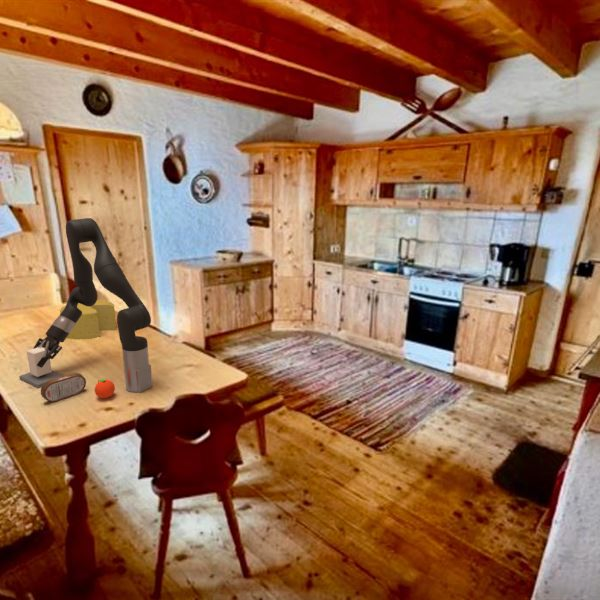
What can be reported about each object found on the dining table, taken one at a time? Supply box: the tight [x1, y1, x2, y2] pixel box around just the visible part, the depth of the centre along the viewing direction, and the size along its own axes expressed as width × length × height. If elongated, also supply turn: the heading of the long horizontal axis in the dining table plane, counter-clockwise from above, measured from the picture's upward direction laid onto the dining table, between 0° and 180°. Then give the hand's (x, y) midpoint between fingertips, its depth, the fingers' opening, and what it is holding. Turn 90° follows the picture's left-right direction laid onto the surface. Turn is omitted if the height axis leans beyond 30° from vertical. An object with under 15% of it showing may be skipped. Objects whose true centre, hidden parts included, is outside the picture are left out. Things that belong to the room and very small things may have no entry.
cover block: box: [26, 347, 53, 377], centre depth 159 cm, size 6×6×10 cm
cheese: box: [59, 299, 117, 340], centre depth 215 cm, size 26×26×15 cm
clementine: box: [94, 378, 116, 399], centre depth 149 cm, size 8×7×7 cm
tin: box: [40, 372, 87, 403], centre depth 147 cm, size 15×3×8 cm, turn 141°
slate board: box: [19, 370, 65, 389], centre depth 161 cm, size 14×10×2 cm
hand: (35, 364), depth 158 cm, fingers closed on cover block, 5 cm apart
